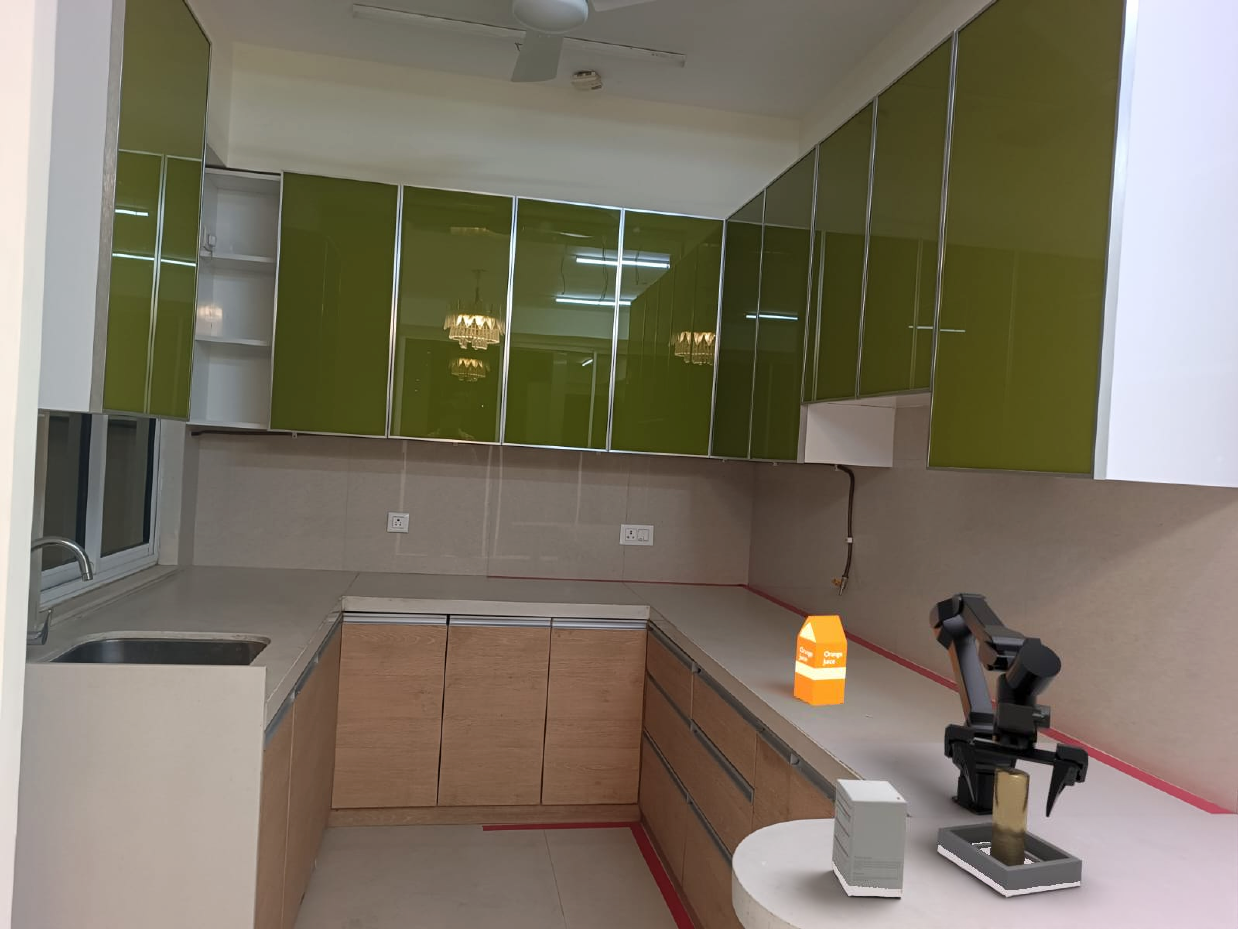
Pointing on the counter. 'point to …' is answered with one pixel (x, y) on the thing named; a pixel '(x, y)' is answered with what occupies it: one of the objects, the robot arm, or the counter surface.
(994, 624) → the robot arm
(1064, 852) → the walled box
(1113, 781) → the counter surface
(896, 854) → the supplement box
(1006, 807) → the shiny gold cylinder
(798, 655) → the orange juice
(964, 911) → the counter surface
